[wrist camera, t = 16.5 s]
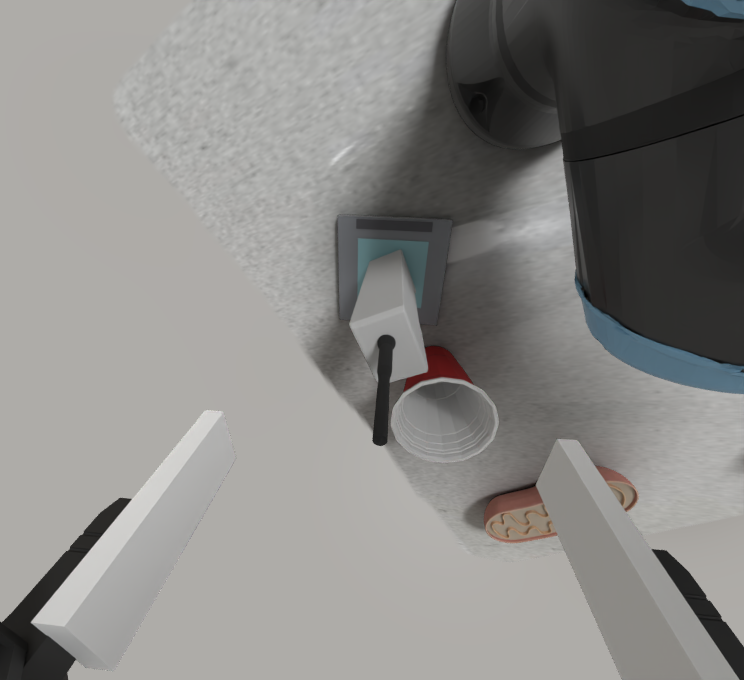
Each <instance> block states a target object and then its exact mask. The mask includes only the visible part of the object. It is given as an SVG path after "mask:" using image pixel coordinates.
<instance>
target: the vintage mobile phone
mask: <svg viewBox="0 0 744 680" xmlns="http://www.w3.org/2000/svg"><path fill="white" fill-rule="evenodd" d="M415 293H416V289H415V286H414V283H413V280H412V278H411V275H410V272H409V269H408V266H407V263H406V261H405V258H404V255H403V252H402V250H401V249H400V250H397V251H395V252H392V253H390V254H387V255H385V256H382V257H380V258H377V259H375V260H372V261H370V262H369V265H368V268H367V271H366V274H365V277H364V280H363V283H362V286H361V289H360V292H359V295H358V298H357V302H356V305H355V308H354V311H353V314H352V317H351V320H350V323H349V326H350V328H351V330H352V333H353V335H354V337H355V339H356V341H357V343H358V345H359V347H360V349H361V351H362V353H363V355H364V357H365V359H366V361H367V363H368V365H369V367H370V369H371V371H372V374H373V376H374V378H375V380H376V382H377V384H378V388H377V398H376V409H375V419H374V430H373V443H374V444H376V445H379V446H383V445H385V444H386V443H387V436H388V411H389V386H390V383H391V382H394V381H398V380H401V379H405V378H408V377H412V376H415V375H419V374H422V373H426V372H427V371H428V364H427V358H426V353H425V348H424V342H423V337H422V332H421V328H420V324H419V319H418V312H417V305H416V298H415Z"/></svg>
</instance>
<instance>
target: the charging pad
mask: <svg viewBox="0 0 744 680" xmlns="http://www.w3.org/2000/svg"><path fill="white" fill-rule="evenodd" d="M452 223H453V221H452V220H451V219H433V218H410V217H388V216H365V215H343V214H339V215H338V261H339V309H340V319H342V320H351V317H352V314H353V311H354V308H355V305H356V302H357V298H358V295H359V292H360V289H361V286H362V283H363V280H364V277H365V274H366V271H367V268H368V265H369V262H370V261H372V260H375V259H377V258H380V257H382V256H385V255H387V254H390V253H392V252H395V251H397V250H400V249H401V250H402V252H403V255H404V258H405V261H406V263H407V266H408V269H409V272H410V275H411V278H412V280H413V283H414V286H415V289H416V293H415V298H416V305H417V312H418V319H419V324H423V325H437V321H438V315H439V308H440V302H441V295H442V288H443V282H444V275H445V269H446V262H447V256H448V249H449V242H450V236H451V229H452Z"/></svg>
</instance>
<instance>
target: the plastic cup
mask: <svg viewBox="0 0 744 680" xmlns="http://www.w3.org/2000/svg"><path fill="white" fill-rule="evenodd" d="M425 353H426V358H427V364H428V371H427V372H426V373H422V374H419V375H415V376H412V377H408V378H407V380H406V384H405V388H404V392H403V394H402V395H401V397H400V398H399V400H398V401H397V403H396V404H395V406H394V407H393V409H392V417H391V424H390V425H391V428H392V430H393V433H394V436H395V439H396V441H397V442H398V443H399V444H400V445H401V446H402V447H403V448H404V449H405V450H406V451H407V452H408V453H410V454H412V455H414V456H417V457H419V458H421V459H423V460H425V461H431V462H438V463H451V462H458V461H464V460H466V459H469V458H471V457H473V456H475V455H477V454H479V453H481V452H482V451H483V450H484V449H485V448H486V447H487V446H488V445H489V444H490V443H491V442H492V441H493V440H494V438H495V434H496V431H497V428H498V425H499V419H498V414H497V409H496V405H495V404H494V403H493V402H492V400H491V399H490V398H489V397H488V395H487V394H486V393H485V392H484V391H483V390H482V389H481V388H479V387H477V386H475V385H474V384H473V383H472V381H471V380H470V378H469V377H468V375H467V374H466V372H465V371H464V370H463V368H462V367H461V366H460V365H459V363H458V362H457V361H456V359H455V358H454V356H453V355H452V354H451V353H450V352H449V351H448V350H446V349H444V348H442V347H439V346H429V347H425Z"/></svg>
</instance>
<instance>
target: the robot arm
mask: <svg viewBox="0 0 744 680" xmlns="http://www.w3.org/2000/svg"><path fill="white" fill-rule="evenodd" d="M446 65H447V76H448V83H449V87H450V91H451V95H452V98H453V101H454V103H455V106H456V108H457V110H458V112H459V114H460V116H461V117H462V119H463V120H464V122H465V123H466V124H467V126H468V127H469V128H470V129H471V130H472V131H473V132H474V133H475V134H476V135H478V136H479V137H480V138H482V139H483V140H485V141H487V142H489V143H491V144H493V145H496V146H498V147H502V148H507V149H528V148H534V147H539V146H543V145H547V144H550V143H553V142H556V141H559V140H561V141H562V149H563V156H564V157H563V163H564V171H565V179H566V186H567V194H568V202H569V210H570V219H571V227H572V236H573V245H574V254H575V263H576V272H575V286H576V289H577V292H578V294H579V296H580V297H581V299H582V303H583V308H584V314H585V319H586V323H587V325H588V328H589V330H590V332H591V333H592V335H593V336H594V337H595V338H596V339H597V340H598V341H599V342H600V343H601V344H602V345H603V347H604V348H605V349H606V350H607V351H608V352H610V353H611V354H612V355H613V356H615V357H616V358H618V359H620V360H621V361H623V362H624V363H626V364H628V365H630V366H632V367H634V368H636V369H638V370H640V371H643V372H645V373H648V374H650V375H653V376H655V377H658V378H662V379H665V380H668V381H671V382H674V383H678V384H682V385H686V386H690V387H695V388H700V389H705V390H711V391H718V392H725V393H735V394H744V0H457V1H456V4H455V7H454V10H453V14H452V18H451V21H450V26H449V32H448V39H447V51H446ZM235 460H236V456H235V452H234V448H233V444H232V441H231V437H230V433H229V429H228V426H227V422H226V418H225V415H224V412H222V411H210V410H205V411H204V413H203V414H202V415H201V416H200V417H199V419H198V420H197V421H196V422H195V423H194V425H193V426H192V427H191V428H190V430H189V431H188V432H187V433H186V434H185V436H184V437H183V438H182V440H180V442H179V443H178V444H177V445H176V447H175V448H174V449H173V450H172V451H171V453H170V454H169V455H168V456H167V457H166V459H165V460H164V461H163V462H162V464H161V465H160V466H159V467H158V469H157V470H156V471H155V472H154V473H153V475H152V476H151V477H150V478H149V479H148V481H147V482H146V483H145V484H144V485H143V487H142V488H141V489H140V490H139V492H138V493H137V494H136V495H135V496H134V498H133V499H127V498H119V499H118V500H117V501H115V502H114V503H113V504H111V505H110V506H109V507H108V508H106V509H105V510H103V511H102V512H101V513H100V514H99V515H98V516H97V517H96V518H95V519H94V520H93V522H92V523H91V524H90V525H89V526H88V527H87V528H86V529H85V531H84V533H83V535H80V536H79V538H78V539H77V540H76V541H75V542H74V543H73V544H72V545H71V546H70V550H68V551H66V552H65V553H64V554H63V555H62V557H61V558H60V559H59V560H58V561H57V562H56V563H55V565H54V566H53V567H52V568H51V569H50V570H49V571H48V573H47V574H46V575H45V576H44V577H43V578H42V579H41V580H40V581H39V583H38V584H37V585H36V586H35V587H34V588H33V589H32V591H31V592H30V593H29V594H28V595H27V596H26V597H25V598H24V600H23V601H22V602H21V603H20V604H19V605H18V606H17V607H16V609H15V610H14V611H13V612H12V613H11V614H10V615H9V616H8V617H7V618H6V619H5V620H4V621H3V622H2V623H1V622H0V680H68V675H67V672H68V670H69V669H70V667H71V666H72V664H73V663H74V661H75V660H77V661H78V662H79V663H81V664H82V665H83V666H84V667H85V668H92V669H100V670H107V671H114V670H115V669H116V667H117V665H118V663H119V662H120V660H121V658H122V656H123V655H124V653H125V651H126V650H127V648H128V646H129V644H130V643H131V641H132V639H133V637H134V636H135V634H136V632H137V630H138V629H139V626H140V625H141V623H142V622H143V620H144V618H145V616H146V614H147V613H148V611H149V609H150V608H151V606H152V604H153V602H154V601H155V599H156V597H157V595H158V594H159V592H160V590H161V589H162V587H163V585H164V583H165V582H166V580H167V578H168V576H169V575H170V573H171V571H172V569H173V568H174V566H175V564H176V562H177V561H178V559H179V557H180V555H181V554H182V552H183V550H184V548H185V547H186V545H187V543H188V542H189V540H190V538H191V536H192V535H193V533H194V531H195V529H196V527H197V526H198V524H199V522H200V521H201V519H202V517H203V515H204V514H205V512H206V510H207V508H208V507H209V505H210V503H211V501H212V500H213V498H214V496H215V494H216V493H217V491H218V489H219V488H220V486H221V484H222V482H223V481H224V479H225V477H226V475H227V474H228V472H229V470H230V468H231V467H232V465H233V463H234V461H235ZM536 487H537V489H538V491H539V494H540V496H541V498H542V500H543V503H544V505H545V507H546V509H547V512H548V514H549V516H550V519H551V521H552V523H553V525H554V528H555V530H556V532H557V534H558V537H559V539H560V541H561V543H562V546H563V548H564V550H565V552H566V555H567V557H568V559H569V561H570V563H571V566H572V568H573V570H574V573H575V575H576V577H577V580H578V582H579V584H580V586H581V589H582V591H583V593H584V595H585V597H586V600H587V602H588V604H589V607H590V609H591V611H592V613H593V616H594V618H595V620H596V622H597V624H598V627H599V629H600V631H601V634H602V636H603V638H604V641H605V643H606V645H607V647H608V650H609V652H610V654H611V656H612V659H613V661H614V663H615V665H616V667H617V670H618V672H619V674H620V676H621V679H622V680H744V647H743V645H742V644H741V643H740V641H739V640H738V638H737V637H736V636H735V634H734V633H733V632H732V630H731V629H730V628H729V626H728V625H727V624H726V622H723V621H722V619H721V615H720V614H719V613H718V611H717V610H716V608H715V607H714V606H713V604H712V603H711V602H710V601H708V600H707V598H706V595H705V593H704V592H703V591H702V589H701V588H700V587H699V585H698V584H697V583H696V581H695V580H694V578H693V577H692V576H691V574H690V573H689V572H688V571H687V570H686V569H685V568H684V567H683V566H682V565H681V564H680V563H679V562H678V561H677V560H676V559H675V558H674V557H672V556H671V555H670V554H669V553H668V552H667V551H665V550H654V549H651V548H650V547H649V545H648V544H647V542H646V541H645V539H644V538H643V536H642V535H641V533H640V532H639V530H638V529H637V527H636V526H635V524H634V523H633V521H632V520H631V519H630V517H629V516H628V514H627V513H626V511H625V510H624V508H623V507H622V505H621V504H620V502H619V501H618V499H617V498H616V496H615V495H614V493H613V492H612V490H611V489H610V487H609V486H608V485H607V483H606V482H605V480H604V479H603V477H602V476H601V474H600V473H599V471H598V470H597V468H596V467H595V465H594V464H593V462H592V461H591V459H590V458H589V456H588V455H587V453H586V452H585V450H584V449H583V448H582V446H581V445H580V443H579V442H578V440H568V439H557V440H556V442H555V444H554V446H553V448H552V450H551V453H550V455H549V457H548V459H547V461H546V463H545V466H544V468H543V470H542V472H541V474H540V477H539V479H538V481H537V483H536Z"/></svg>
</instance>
